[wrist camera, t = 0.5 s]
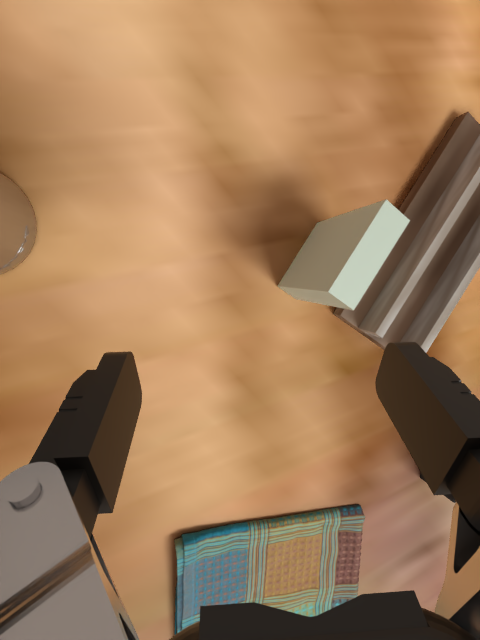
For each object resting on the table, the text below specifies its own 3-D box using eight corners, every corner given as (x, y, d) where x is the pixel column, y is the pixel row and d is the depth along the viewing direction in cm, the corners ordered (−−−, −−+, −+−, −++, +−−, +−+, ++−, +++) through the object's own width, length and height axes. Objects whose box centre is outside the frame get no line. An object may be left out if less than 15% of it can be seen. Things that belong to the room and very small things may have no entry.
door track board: (333, 313, 36) (356, 319, 31) (455, 118, 36) (495, 96, 32) (405, 364, 39) (435, 376, 35) (518, 185, 39) (562, 173, 35)
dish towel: (171, 527, 36) (172, 546, 33) (358, 498, 41) (370, 512, 39) (173, 657, 38) (174, 683, 36) (349, 613, 43) (360, 633, 41)
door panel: (277, 286, 34) (328, 291, 23) (317, 222, 34) (386, 199, 23) (295, 299, 35) (353, 310, 24) (335, 236, 35) (410, 220, 24)
